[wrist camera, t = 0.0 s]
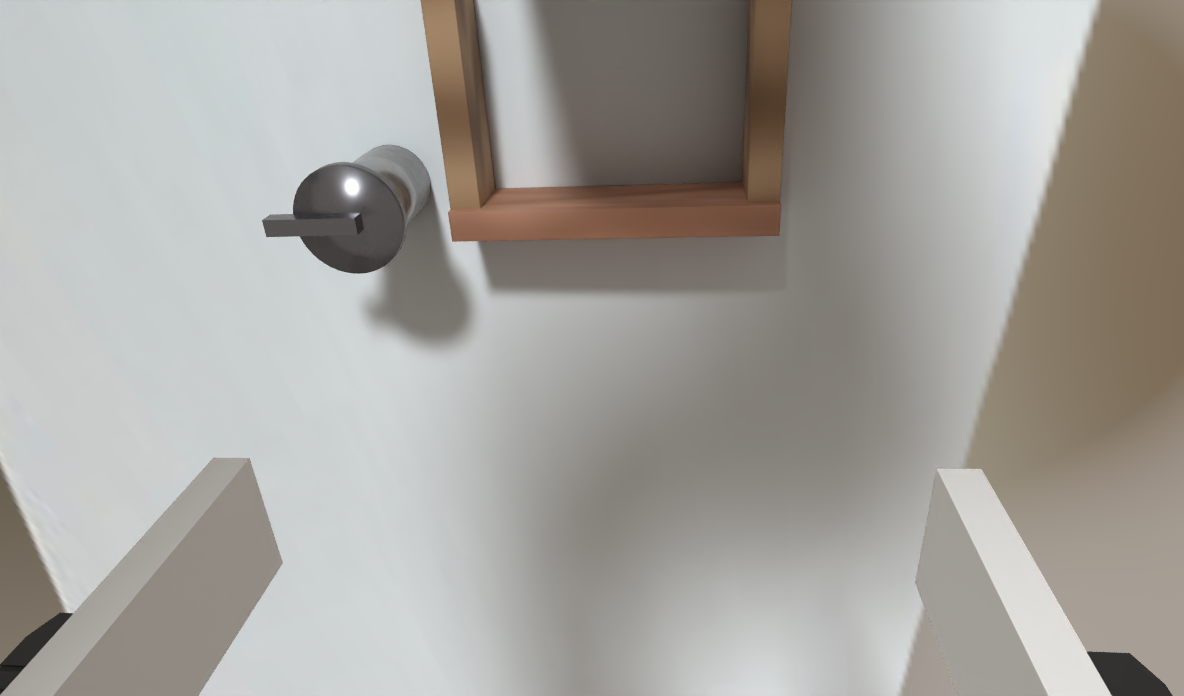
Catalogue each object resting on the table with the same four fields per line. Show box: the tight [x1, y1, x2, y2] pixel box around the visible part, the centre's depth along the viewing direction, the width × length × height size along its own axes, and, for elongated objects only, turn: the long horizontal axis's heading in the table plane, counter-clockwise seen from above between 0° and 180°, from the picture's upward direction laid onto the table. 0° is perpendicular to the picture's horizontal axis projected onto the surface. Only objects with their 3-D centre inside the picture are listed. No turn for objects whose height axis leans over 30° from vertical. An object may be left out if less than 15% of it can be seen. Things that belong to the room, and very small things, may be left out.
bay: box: [421, 0, 792, 241], centre depth 37 cm, size 12×16×4 cm
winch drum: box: [262, 145, 431, 273], centre depth 38 cm, size 5×6×7 cm
